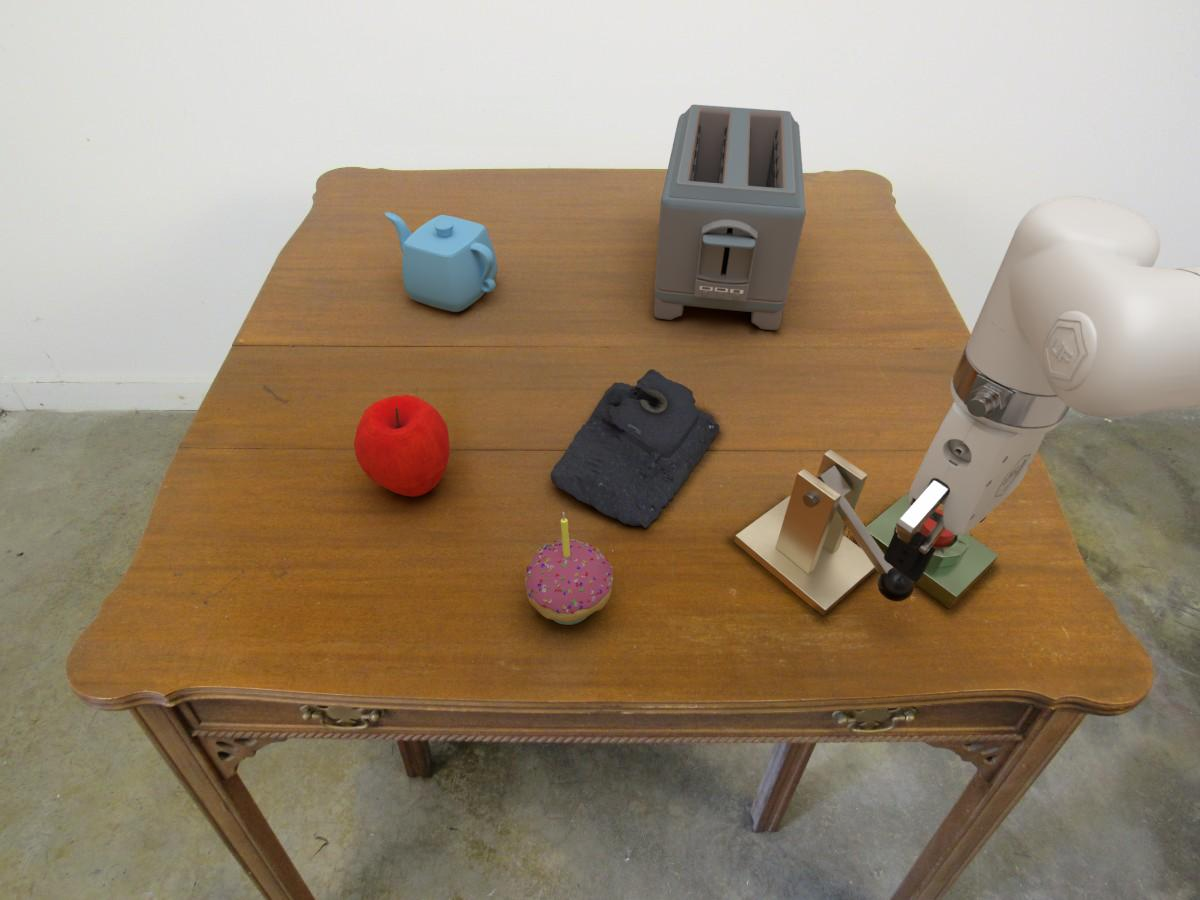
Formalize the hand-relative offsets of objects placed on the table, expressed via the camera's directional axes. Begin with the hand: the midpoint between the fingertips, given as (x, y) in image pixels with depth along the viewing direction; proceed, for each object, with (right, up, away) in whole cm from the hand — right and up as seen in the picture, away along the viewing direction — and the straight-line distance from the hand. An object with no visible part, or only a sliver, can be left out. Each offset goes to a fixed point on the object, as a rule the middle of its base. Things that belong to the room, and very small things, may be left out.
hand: (934, 539), depth 63 cm
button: (+6, -1, +13) cm, 15 cm away
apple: (-50, +3, +22) cm, 55 cm away
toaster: (-10, +35, +53) cm, 64 cm away
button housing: (+6, -3, +16) cm, 17 cm away
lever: (-4, -1, +9) cm, 10 cm away
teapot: (-52, +32, +50) cm, 79 cm away
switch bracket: (-7, -4, +16) cm, 17 cm away
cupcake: (-31, -8, +11) cm, 34 cm away
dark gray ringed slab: (-25, +7, +26) cm, 37 cm away
